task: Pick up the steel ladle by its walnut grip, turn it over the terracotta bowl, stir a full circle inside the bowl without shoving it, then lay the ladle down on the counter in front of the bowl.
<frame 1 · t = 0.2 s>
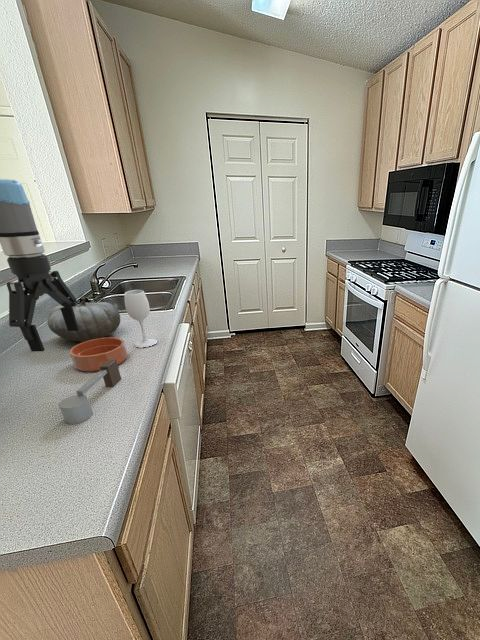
hand: (57, 340, 86), 19 cm above the counter, tool pointing down, fingers open, 13 cm apart
gourd: (89, 337, 139), on the counter
bowl: (102, 361, 118), on the counter
wineglass: (146, 344, 133), on the counter
ladle: (79, 416, 89), on the counter
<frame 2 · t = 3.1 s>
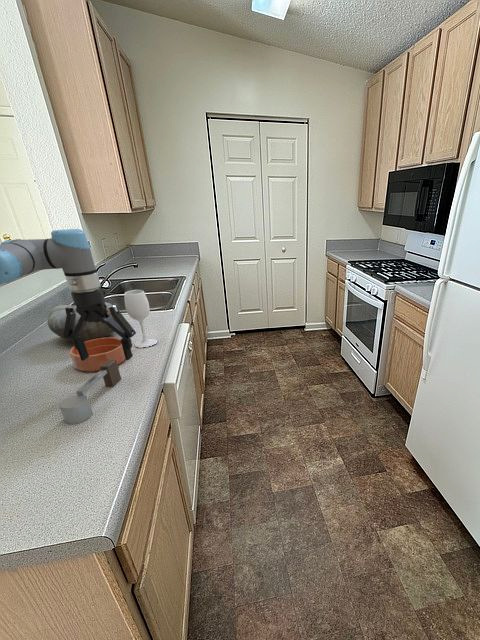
hand: (107, 358, 101), 9 cm above the counter, tool pointing down, fingers open, 13 cm apart
nothing on the counter moved.
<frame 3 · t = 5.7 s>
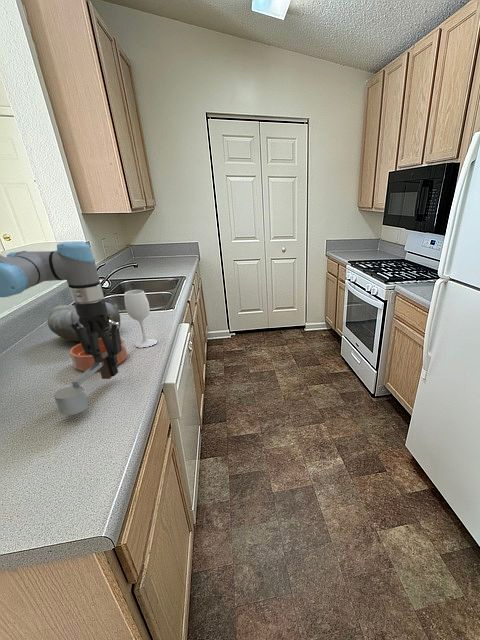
hand: (110, 374, 103), 3 cm above the counter, tool pointing down, fingers closed on ladle, 2 cm apart
ladle: (74, 408, 87), point 3 cm above the counter, touching gripper
everything else where it was.
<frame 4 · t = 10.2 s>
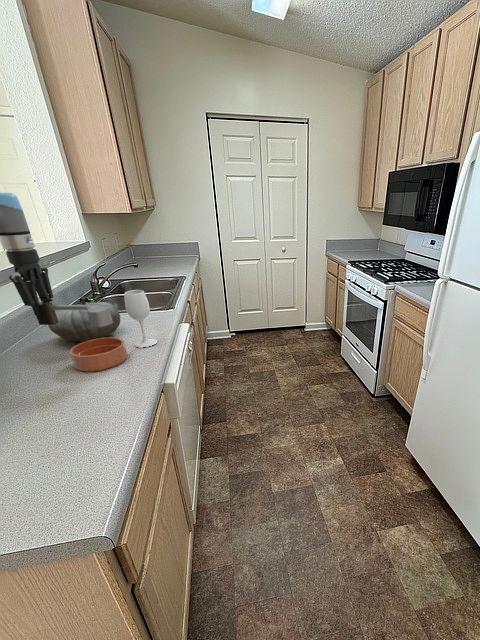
hand: (47, 322, 111), 15 cm above the counter, tool pointing down, fingers closed on ladle, 2 cm apart
ladle: (102, 323, 111), point 15 cm above the counter, touching gripper
everything else where it was.
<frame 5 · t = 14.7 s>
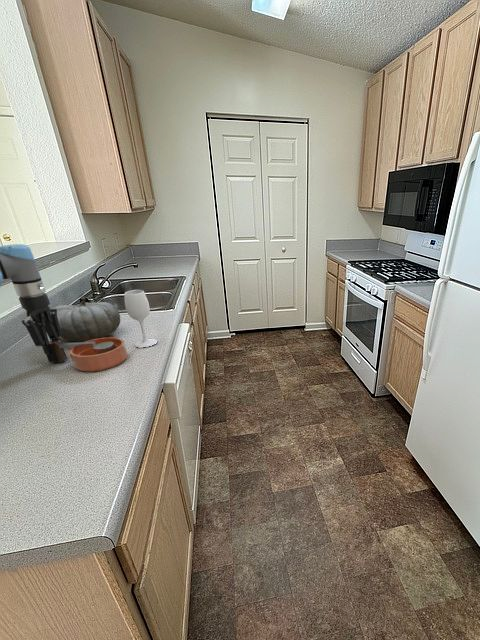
hand: (56, 359, 118), 1 cm above the counter, tool pointing down, fingers closed on ladle, 2 cm apart
ladle: (108, 358, 117), point 1 cm above the counter, touching gripper
everything else where it was.
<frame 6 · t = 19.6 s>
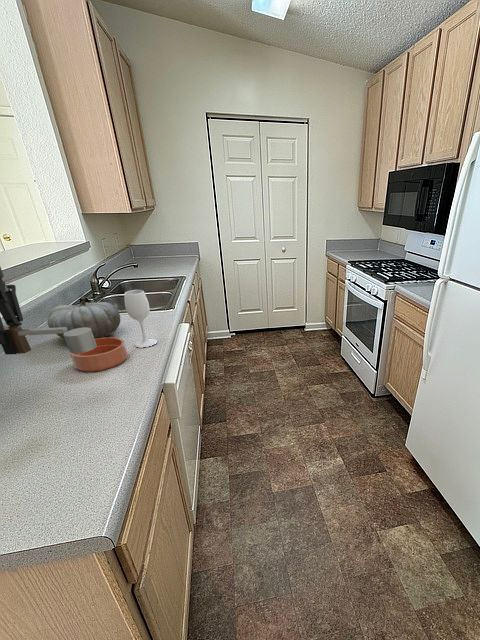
hand: (16, 351, 91), 15 cm above the counter, tool pointing down, fingers closed on ladle, 2 cm apart
ladle: (83, 348, 90), point 16 cm above the counter, touching gripper
everything else where it was.
when the fingers open (0 cm above the counter, at t = 24.0 s): ladle stays where it is, on the counter.
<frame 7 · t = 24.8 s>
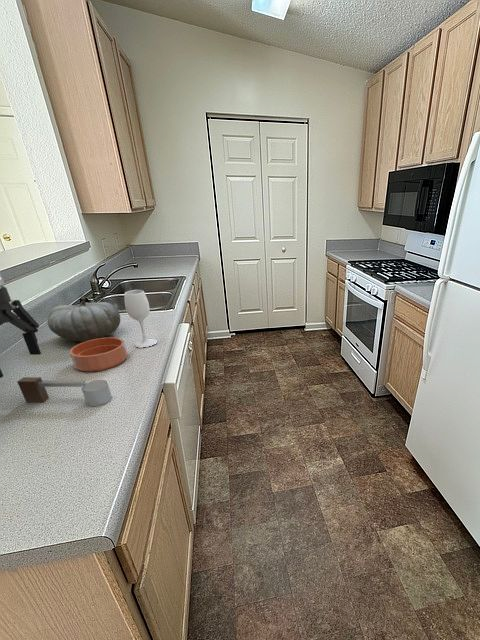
hand: (17, 364, 91), 12 cm above the counter, tool pointing down, fingers open, 13 cm apart
ladle: (99, 400, 96), on the counter
everything else where it was.
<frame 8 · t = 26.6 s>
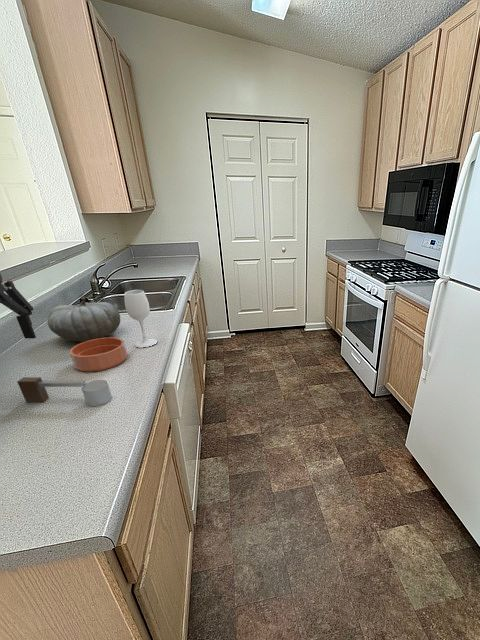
hand: (11, 347, 89), 17 cm above the counter, tool pointing down, fingers open, 13 cm apart
nothing on the counter moved.
at the end: bowl moved 0.0 cm from its start; ladle inside the target area (1.0 cm from its centre), on the counter; the gripper is holding nothing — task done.
